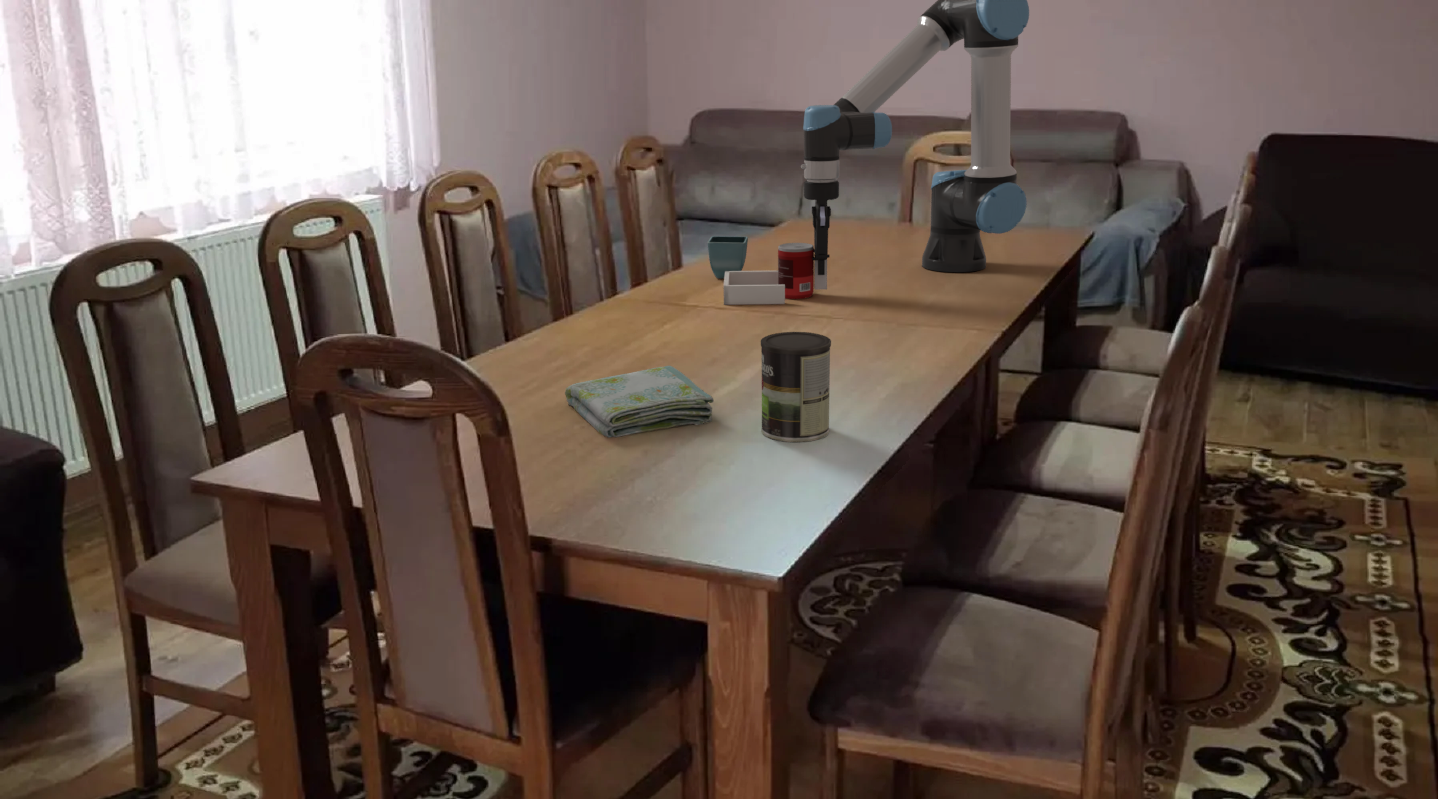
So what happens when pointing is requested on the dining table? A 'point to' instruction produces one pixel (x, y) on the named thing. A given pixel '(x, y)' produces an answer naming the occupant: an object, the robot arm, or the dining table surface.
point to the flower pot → (727, 254)
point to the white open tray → (753, 288)
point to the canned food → (796, 269)
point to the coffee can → (795, 386)
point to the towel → (640, 401)
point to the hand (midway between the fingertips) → (820, 288)
